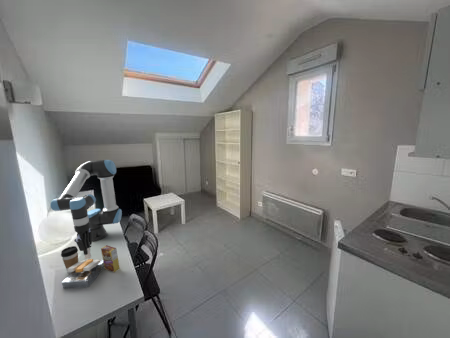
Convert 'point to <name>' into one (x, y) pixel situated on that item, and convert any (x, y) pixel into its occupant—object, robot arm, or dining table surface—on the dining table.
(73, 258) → the coffee cup
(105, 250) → the candy box
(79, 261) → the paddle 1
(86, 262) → the long orange bar
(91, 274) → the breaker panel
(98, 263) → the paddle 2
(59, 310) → the dining table surface
